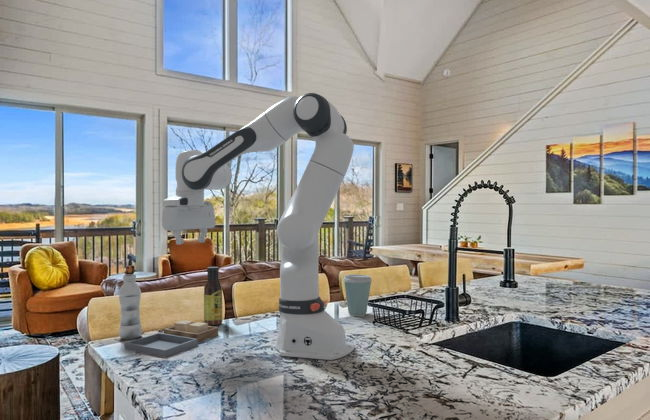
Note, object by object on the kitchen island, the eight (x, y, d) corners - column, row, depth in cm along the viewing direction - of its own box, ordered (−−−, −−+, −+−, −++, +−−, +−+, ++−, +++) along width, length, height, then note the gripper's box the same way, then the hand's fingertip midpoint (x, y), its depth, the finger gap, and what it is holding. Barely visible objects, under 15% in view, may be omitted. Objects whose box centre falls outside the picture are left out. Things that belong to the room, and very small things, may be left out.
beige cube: (183, 332, 147) (183, 320, 147) (193, 333, 145) (193, 321, 145) (174, 335, 143) (174, 323, 143) (185, 337, 142) (185, 324, 142)
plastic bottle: (146, 337, 144) (145, 274, 144) (129, 343, 138) (128, 277, 138) (131, 335, 147) (130, 273, 147) (114, 341, 140) (113, 276, 140)
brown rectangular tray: (218, 336, 143) (218, 327, 143) (197, 344, 135) (197, 334, 135) (185, 331, 150) (185, 322, 150) (164, 338, 142) (163, 329, 142)
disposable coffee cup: (356, 310, 178) (355, 271, 178) (378, 314, 171) (377, 274, 171) (337, 315, 171) (337, 274, 171) (360, 319, 163) (359, 277, 163)
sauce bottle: (217, 326, 156) (216, 268, 156) (200, 326, 158) (199, 268, 158) (225, 322, 163) (224, 266, 163) (209, 321, 164) (208, 266, 164)
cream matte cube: (198, 334, 144) (197, 322, 144) (207, 336, 142) (207, 323, 142) (188, 337, 140) (188, 324, 140) (198, 339, 139) (198, 326, 139)
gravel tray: (197, 347, 133) (197, 338, 133) (165, 359, 122) (164, 350, 122) (158, 340, 140) (158, 332, 140) (125, 351, 130) (124, 342, 130)
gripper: (205, 201, 159) (206, 241, 159) (158, 200, 141) (159, 245, 141) (219, 200, 156) (220, 241, 156) (173, 200, 138) (173, 245, 138)
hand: (190, 243), depth 149 cm, fingers open, 8 cm apart
